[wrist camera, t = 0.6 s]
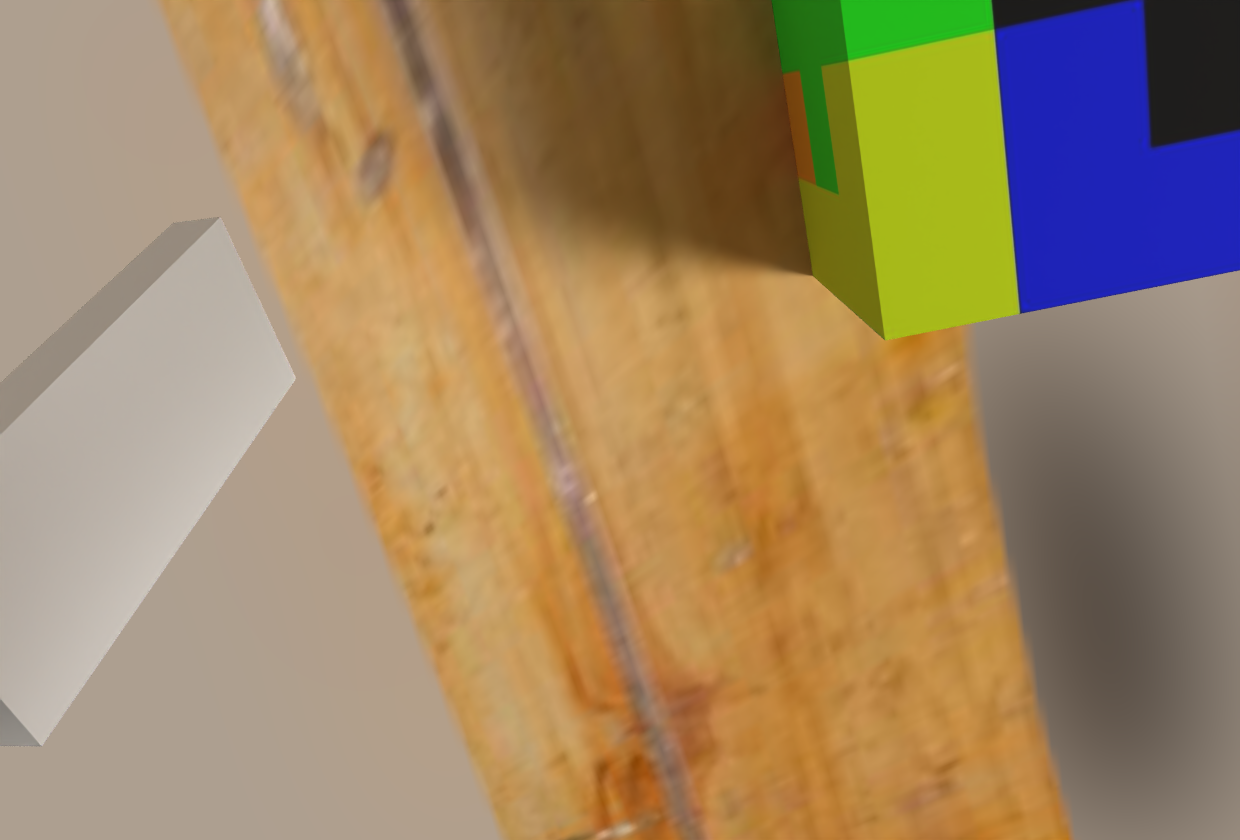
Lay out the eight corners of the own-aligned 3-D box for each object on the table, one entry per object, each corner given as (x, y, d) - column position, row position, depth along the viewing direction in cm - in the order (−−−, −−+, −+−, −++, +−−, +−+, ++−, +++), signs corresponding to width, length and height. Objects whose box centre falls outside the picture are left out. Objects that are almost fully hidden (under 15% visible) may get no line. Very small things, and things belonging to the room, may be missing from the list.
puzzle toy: (1107, 215, 34) (1297, 258, 25) (812, 275, 35) (884, 340, 25) (1087, -108, 31) (1293, -203, 22) (765, -37, 32) (827, -98, 22)
